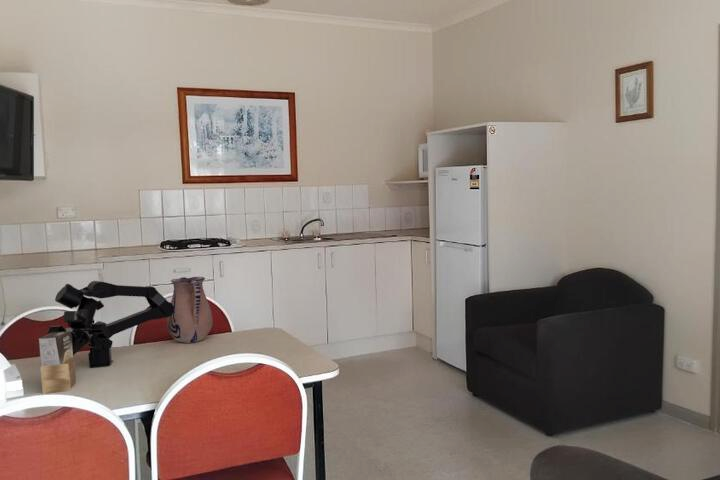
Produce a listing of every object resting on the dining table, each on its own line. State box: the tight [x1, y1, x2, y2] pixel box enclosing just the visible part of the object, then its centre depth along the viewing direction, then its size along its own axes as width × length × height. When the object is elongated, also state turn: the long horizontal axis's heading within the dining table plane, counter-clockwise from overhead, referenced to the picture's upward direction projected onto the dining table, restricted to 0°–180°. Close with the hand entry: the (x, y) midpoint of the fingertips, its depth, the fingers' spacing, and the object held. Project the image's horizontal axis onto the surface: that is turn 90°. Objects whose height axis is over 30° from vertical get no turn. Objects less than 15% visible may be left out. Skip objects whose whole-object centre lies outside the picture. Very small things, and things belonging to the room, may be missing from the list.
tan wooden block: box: [39, 356, 77, 394], centre depth 188 cm, size 8×9×8 cm
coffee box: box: [38, 331, 74, 367], centre depth 191 cm, size 9×6×16 cm
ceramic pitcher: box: [166, 276, 214, 344], centre depth 244 cm, size 18×21×25 cm
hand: (71, 355), depth 199 cm, fingers closed
